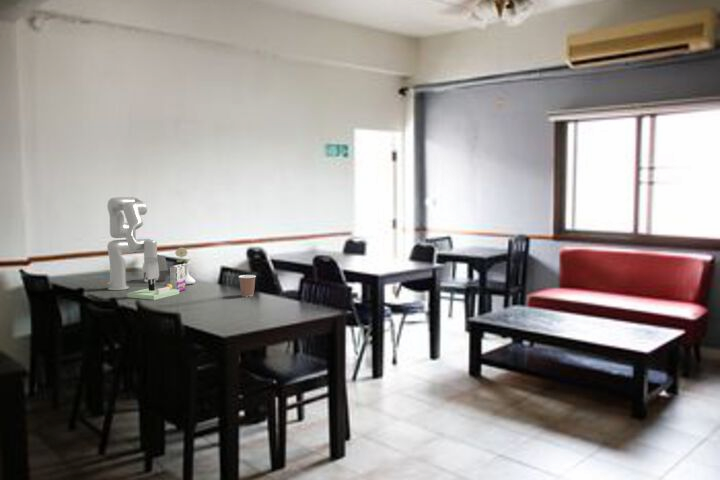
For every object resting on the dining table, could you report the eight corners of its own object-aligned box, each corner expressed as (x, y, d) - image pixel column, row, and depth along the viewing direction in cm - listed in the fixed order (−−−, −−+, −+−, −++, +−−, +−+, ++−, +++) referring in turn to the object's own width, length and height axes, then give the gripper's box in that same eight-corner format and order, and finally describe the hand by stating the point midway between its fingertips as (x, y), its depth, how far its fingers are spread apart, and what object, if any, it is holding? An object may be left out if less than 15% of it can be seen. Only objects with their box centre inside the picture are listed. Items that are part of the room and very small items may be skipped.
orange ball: (164, 290, 377) (164, 284, 377) (168, 289, 381) (168, 283, 380) (169, 291, 375) (169, 284, 375) (174, 290, 379) (173, 283, 379)
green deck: (126, 297, 369) (126, 288, 369) (153, 291, 389) (152, 282, 389) (154, 299, 361) (153, 290, 360) (179, 293, 381) (179, 284, 380)
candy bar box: (178, 289, 396) (178, 264, 394) (185, 289, 395) (185, 264, 393) (170, 292, 385) (169, 266, 384) (177, 292, 384) (176, 266, 383)
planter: (142, 272, 437) (149, 249, 428) (153, 271, 443) (159, 249, 433) (152, 288, 428) (159, 265, 419) (162, 286, 434) (170, 263, 424)
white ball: (153, 295, 369) (154, 289, 368) (157, 293, 373) (159, 287, 372) (158, 297, 368) (159, 292, 367) (162, 296, 372) (164, 290, 371)
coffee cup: (259, 295, 377) (259, 275, 376) (248, 297, 368) (248, 277, 367) (246, 293, 382) (245, 274, 380) (235, 296, 373) (235, 276, 371)
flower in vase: (197, 282, 423) (196, 246, 421) (193, 285, 412) (192, 248, 410) (178, 282, 423) (177, 246, 421) (173, 285, 412) (172, 248, 409)
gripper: (154, 258, 379) (155, 288, 381) (136, 261, 366) (137, 292, 367) (164, 259, 376) (165, 289, 378) (146, 262, 363) (147, 293, 364)
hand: (151, 290), depth 373 cm, fingers closed
